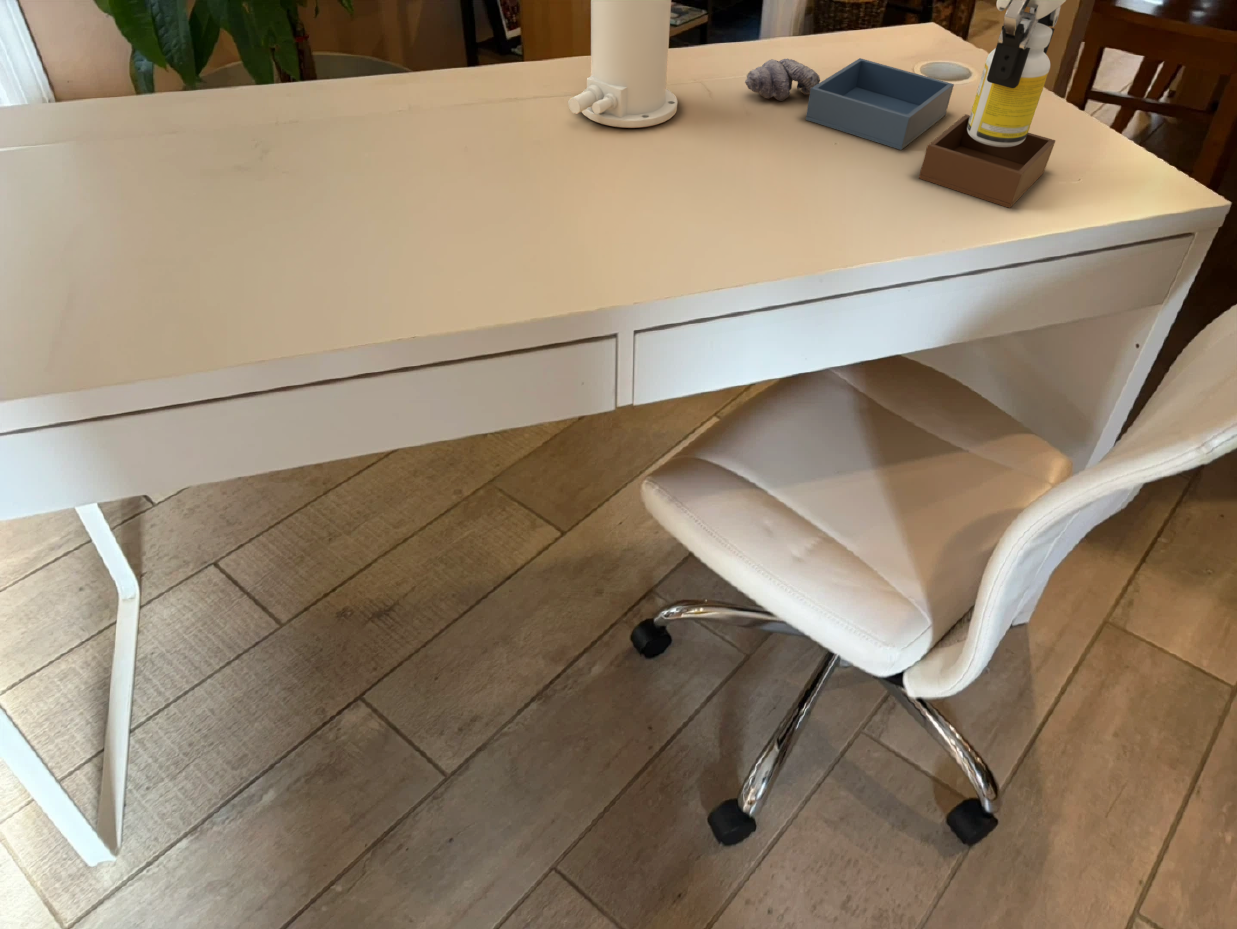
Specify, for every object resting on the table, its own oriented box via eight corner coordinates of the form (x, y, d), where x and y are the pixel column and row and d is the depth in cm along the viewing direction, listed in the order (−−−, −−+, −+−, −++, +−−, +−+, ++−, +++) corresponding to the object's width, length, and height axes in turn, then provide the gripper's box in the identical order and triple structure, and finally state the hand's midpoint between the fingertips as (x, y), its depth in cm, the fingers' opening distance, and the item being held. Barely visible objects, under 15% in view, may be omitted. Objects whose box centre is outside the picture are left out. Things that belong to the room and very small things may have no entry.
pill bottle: (1032, 150, 99) (1071, 40, 91) (973, 148, 99) (1007, 38, 91) (1014, 125, 104) (1050, 17, 96) (958, 123, 104) (989, 16, 96)
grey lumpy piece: (812, 101, 122) (741, 109, 120) (807, 60, 121) (736, 67, 119) (828, 89, 116) (755, 97, 115) (823, 46, 116) (749, 54, 114)
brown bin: (1009, 208, 99) (1022, 174, 96) (918, 178, 104) (927, 144, 101) (1043, 173, 105) (1055, 140, 103) (955, 146, 110) (965, 113, 107)
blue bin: (901, 150, 109) (909, 117, 106) (805, 119, 115) (810, 87, 112) (945, 115, 117) (954, 83, 114) (853, 88, 122) (859, 57, 119)
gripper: (1067, -143, 91) (1009, 43, 103) (1003, -112, 81) (948, 89, 93) (1144, -131, 87) (1075, 59, 100) (1088, -98, 78) (1019, 109, 90)
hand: (1014, 72), depth 96 cm, fingers closed on pill bottle, 6 cm apart
